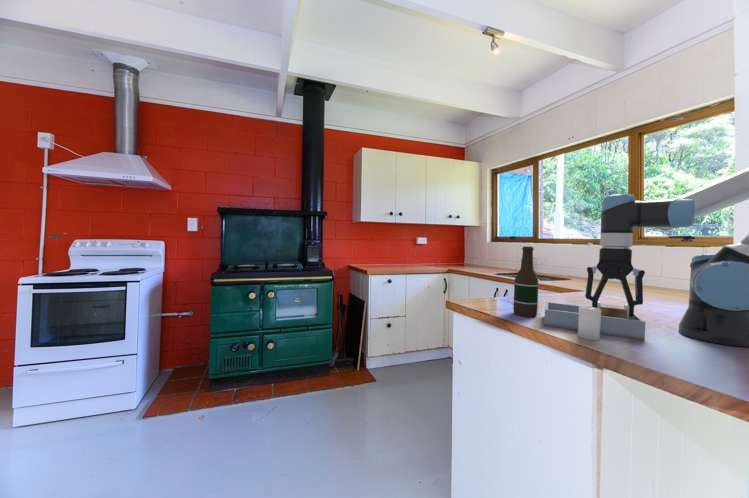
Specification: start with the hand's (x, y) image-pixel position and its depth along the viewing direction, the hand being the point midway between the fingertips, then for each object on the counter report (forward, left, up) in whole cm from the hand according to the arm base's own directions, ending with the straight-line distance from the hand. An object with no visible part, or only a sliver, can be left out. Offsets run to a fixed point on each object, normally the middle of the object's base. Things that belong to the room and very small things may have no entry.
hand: (611, 325), depth 91 cm
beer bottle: (+23, -5, -2) cm, 24 cm away
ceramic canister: (+6, +13, -1) cm, 14 cm away
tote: (+5, 0, -1) cm, 6 cm away
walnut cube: (0, 0, 0) cm, 0 cm away
